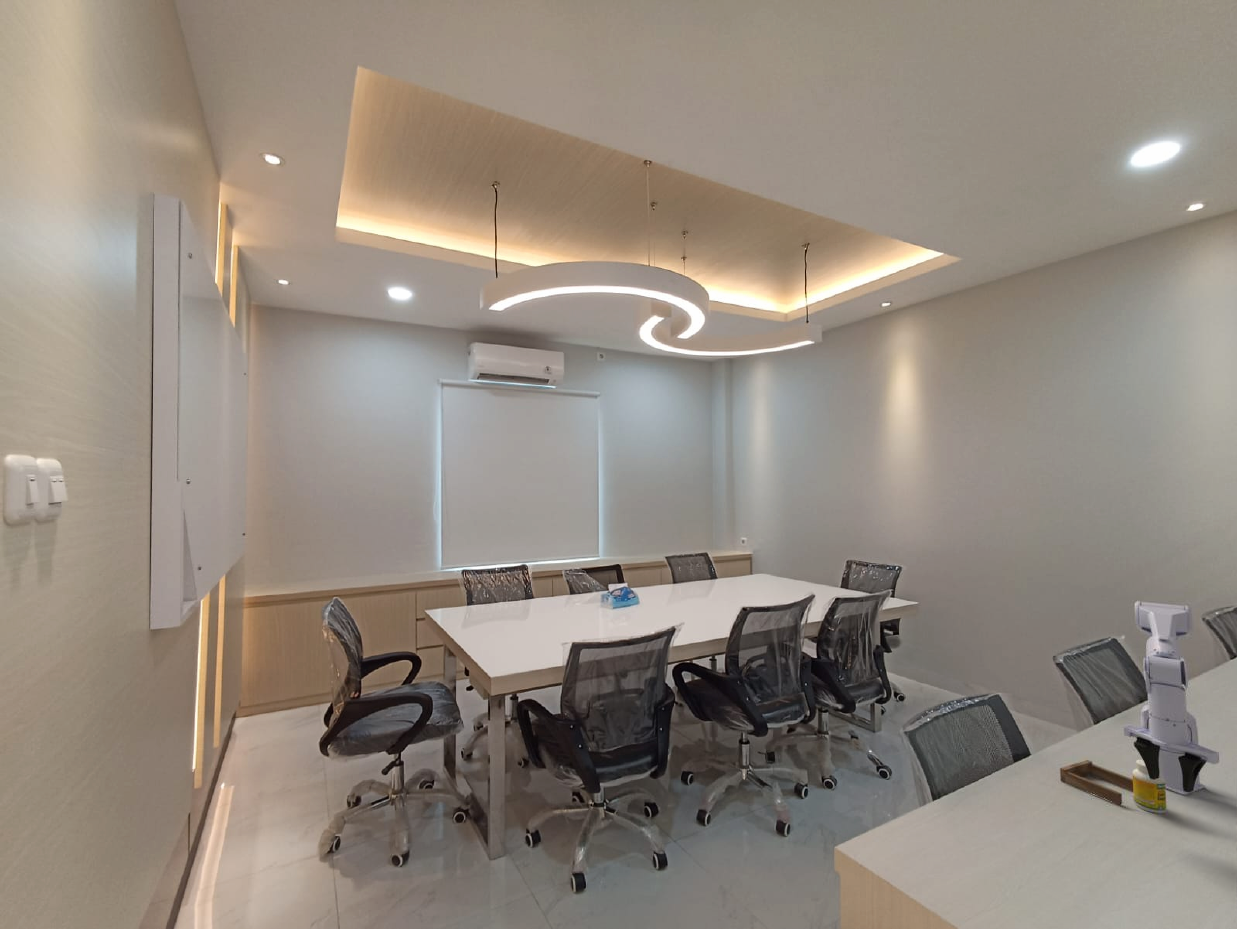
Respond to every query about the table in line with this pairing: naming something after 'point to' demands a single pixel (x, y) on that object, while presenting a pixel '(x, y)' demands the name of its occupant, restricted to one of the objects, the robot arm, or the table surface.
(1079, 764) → the walnut slot rack
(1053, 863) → the table surface
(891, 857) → the table surface
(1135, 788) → the supplement bottle
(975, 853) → the table surface
